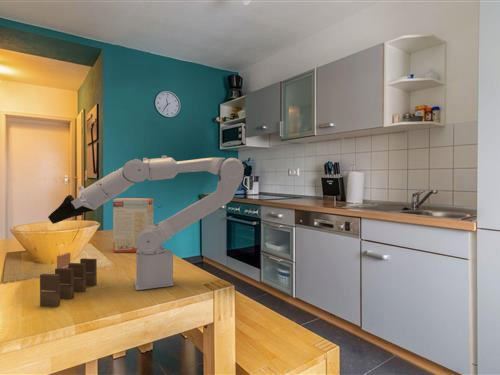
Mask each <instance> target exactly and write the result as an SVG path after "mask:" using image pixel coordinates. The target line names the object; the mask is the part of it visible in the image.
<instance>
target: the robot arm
mask: <svg viewBox="0 0 500 375" xmlns="http://www.w3.org/2000/svg"><path fill="white" fill-rule="evenodd" d="M192 172H194V173H195V172H209V173H211V174H212V175H218V182H217V186H216V189H215V190H214V191H213V192H211V193H210V194H208V195H205V196H204V197H203V198H201V199H199V200H198V201H195V202H194V203H192V204H190V205H189V206H187V207H185V208H183V209H182V210H180V211H178V212H177V213H175V214H173V215H172V216H170V217H168V218H166V219H163V220H161V221H160V222H157V223H155V224H154V223H153V224H151V225H148V226H146V227H145V228H144V229H143V230H142V231H141V232H140V233H139V234H138V235H137V237H136V246H137V248H138V249H137V250H136V252H137V253H135V256H136V259H135V261H136V263H135V264H136V266H135V267H136V271H135V272H136V274H135V276H136V278H135V279H133V283H134V284H133V285H134V289H135V291H142V290H143V291H144V290H149V289H157V288H165V287H172V286H174V255H173V251H172V250H171V249H168V250H166V249H165V247H164V246H163V244H164V243H165V242H167V241H168V240H170V239H171V238H172V237H173V236H174V235H176V234H178V233H179V232H181V231H182V230H184V229H186V228H188V227H189V226H191V225H192V224H195V223H196V222H198V221H200V220H201V219H203V218H205V217H206V216H209V215H210V214H212V213H213V212H215V211H217V210H218V209H220V208H222V207H223V206H225V205H226V204H228V203H230V202H231V201H232V200H233V198H234V196H235V194H236V192H237V190H238V188H239V187H240V185H241V183H242V182H243V180H244V176H245V175H244V173H245V167H244V163H243V162H242V161H241V160H239V159H238V158H235V157H229V158H227V159H226V158H225V157H205V158H196V159H189V160H179V161H178V160H177V161H176V160H175V159H174V158H173V157H168V155H161V157H157V158H148V157H143V158H142V160H141V159H138V158H134V159H131V160H128V161H126V163H125V164H124V165H123V166H122V167H120V168H118V169H117V170H114V171H113V172H111V173H109V174H107V175H105V176H104V177H102V178H100V179H99V180H97V181H95V182H93V183H92V184H90V185H89V186H87V187H84V186H83V185H79V186H78V187H77V188H78V190H79V193H78V195H77V197H76V198H74V197H73V196H72V194H68V195H67V196H65V198H64V200H63V201H62V203H61V204H59V206H58V207H57V208H55V210H53V211H52V212H51V213H50V214H49V215H48V217H47V219H48V220H49V221H50V222H51V224H57V223H60V222H62V221H65V220H68V219H70V218H74V217H80V216H83V215H84V214H85V213H88V212H94V211H95V210H97V209H99V207H100V206H102V205H104V204H105V203H107V202H109V201H111V200H113V199H115V198H116V197H117V196H118V195H120V194H122V193H124V192H125V191H127V190H128V189H129V188H130V187H131V186H134V185H135V184H136V183H141V182H142V183H143V182H145V180H146V179H147V180H149V181H159V180H160V181H161V180H169V179H174V178H175V177H176V176H177V175H178V174H179V173H180V174H181V173H192Z"/></svg>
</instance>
